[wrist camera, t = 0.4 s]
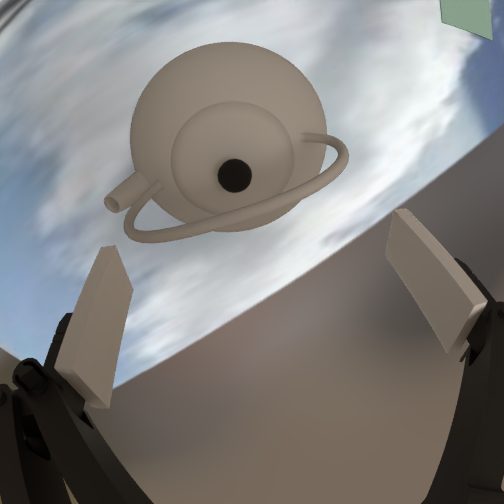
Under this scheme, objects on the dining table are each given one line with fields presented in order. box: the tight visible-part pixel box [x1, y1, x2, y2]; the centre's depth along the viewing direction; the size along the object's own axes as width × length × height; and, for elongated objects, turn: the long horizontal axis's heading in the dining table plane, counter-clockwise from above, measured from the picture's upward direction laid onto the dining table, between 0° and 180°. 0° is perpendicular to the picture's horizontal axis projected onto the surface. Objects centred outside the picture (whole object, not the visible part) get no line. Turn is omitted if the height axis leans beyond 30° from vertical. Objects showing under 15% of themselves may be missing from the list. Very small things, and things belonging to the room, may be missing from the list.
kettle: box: [104, 42, 349, 243], centre depth 27 cm, size 25×23×22 cm
